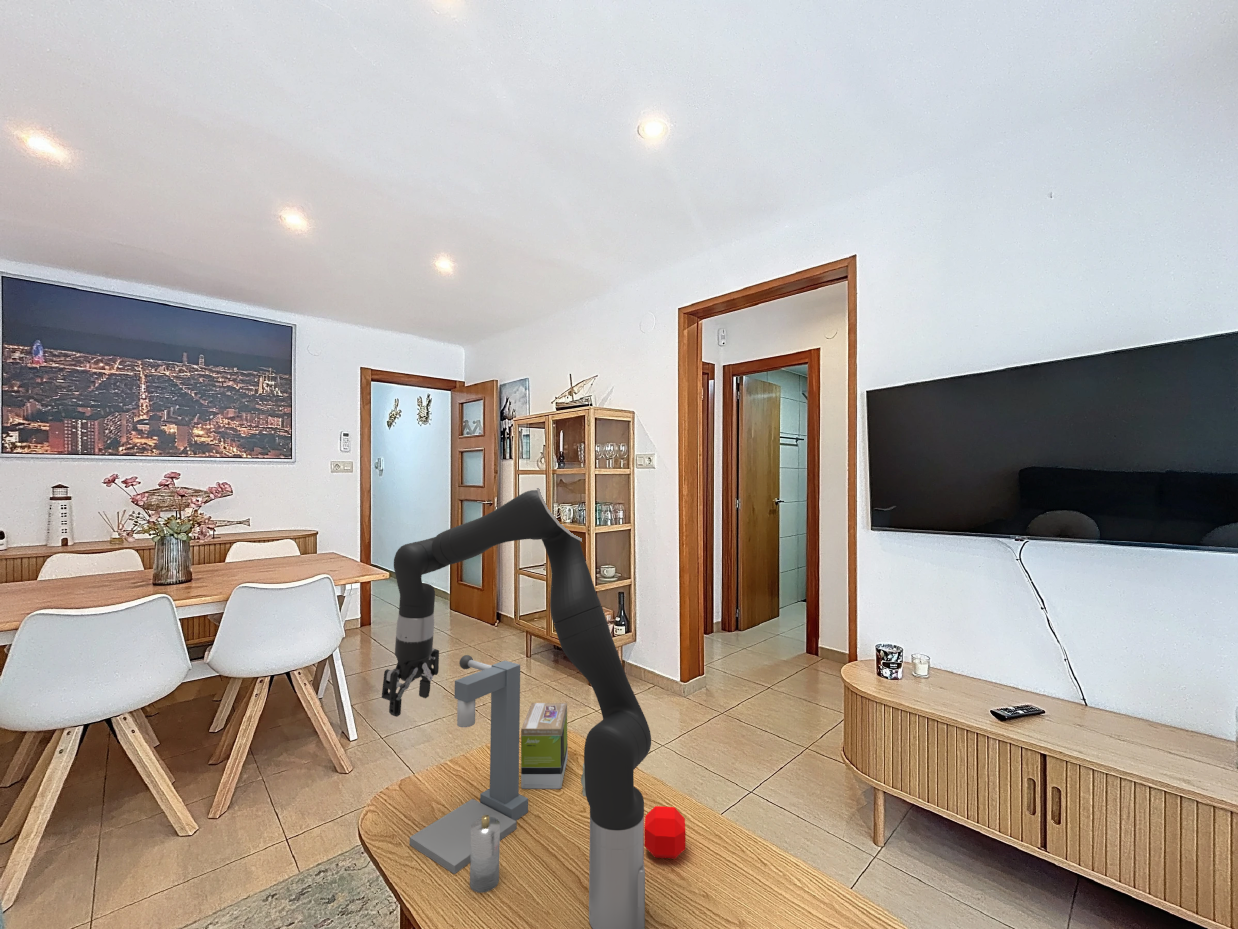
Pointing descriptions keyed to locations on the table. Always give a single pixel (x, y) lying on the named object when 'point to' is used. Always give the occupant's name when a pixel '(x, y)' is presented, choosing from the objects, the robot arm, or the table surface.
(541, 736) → the tea box
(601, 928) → the robot arm
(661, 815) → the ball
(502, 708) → the press
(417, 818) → the table surface
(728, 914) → the table surface
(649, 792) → the table surface
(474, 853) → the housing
